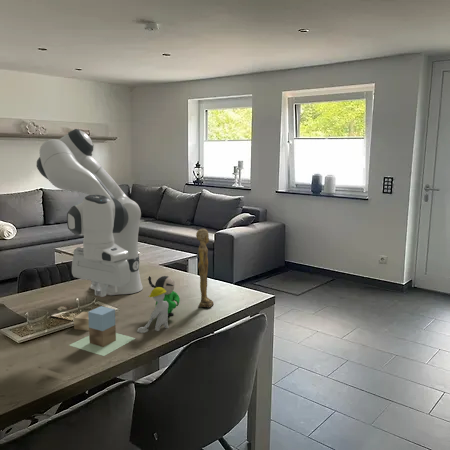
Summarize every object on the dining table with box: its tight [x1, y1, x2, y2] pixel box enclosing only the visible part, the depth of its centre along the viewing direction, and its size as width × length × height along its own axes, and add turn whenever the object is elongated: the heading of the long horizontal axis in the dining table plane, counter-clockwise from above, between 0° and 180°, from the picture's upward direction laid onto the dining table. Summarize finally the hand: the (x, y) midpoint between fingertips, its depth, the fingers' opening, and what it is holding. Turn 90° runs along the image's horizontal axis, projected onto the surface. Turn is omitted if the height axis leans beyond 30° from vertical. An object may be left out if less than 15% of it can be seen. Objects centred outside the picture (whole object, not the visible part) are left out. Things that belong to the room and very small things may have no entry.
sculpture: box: [195, 228, 215, 308], centre depth 172 cm, size 7×6×30 cm
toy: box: [147, 275, 181, 317], centre depth 162 cm, size 10×11×15 cm
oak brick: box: [73, 311, 89, 332], centre depth 151 cm, size 6×6×5 cm
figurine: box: [136, 287, 170, 334], centre depth 149 cm, size 10×9×15 cm
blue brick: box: [87, 305, 116, 331], centre depth 138 cm, size 6×6×5 cm
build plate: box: [68, 332, 136, 357], centre depth 140 cm, size 14×14×1 cm
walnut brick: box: [88, 324, 117, 347], centre depth 139 cm, size 6×6×5 cm
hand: (100, 295), depth 137 cm, fingers closed
